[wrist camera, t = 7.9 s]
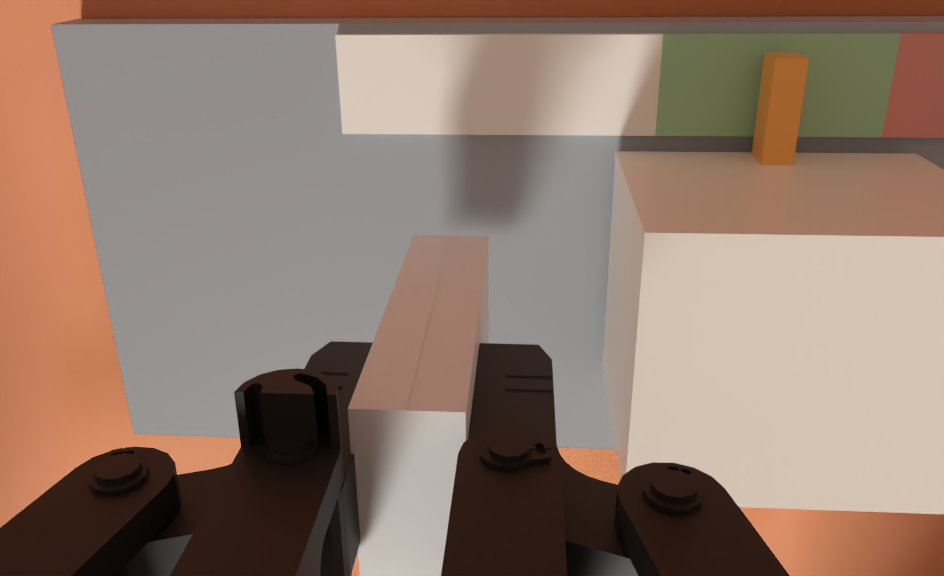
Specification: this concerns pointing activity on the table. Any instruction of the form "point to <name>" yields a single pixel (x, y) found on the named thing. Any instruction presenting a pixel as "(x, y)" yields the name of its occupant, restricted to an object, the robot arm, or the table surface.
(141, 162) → the gauge board
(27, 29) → the table surface
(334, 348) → the robot arm
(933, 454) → the plunger
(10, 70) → the table surface
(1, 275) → the table surface
